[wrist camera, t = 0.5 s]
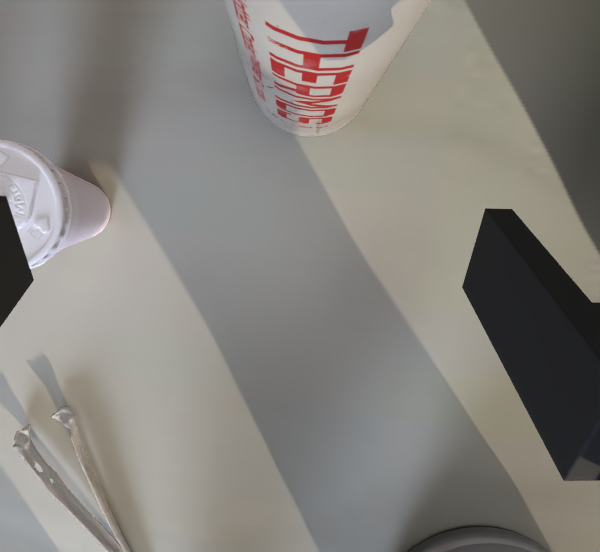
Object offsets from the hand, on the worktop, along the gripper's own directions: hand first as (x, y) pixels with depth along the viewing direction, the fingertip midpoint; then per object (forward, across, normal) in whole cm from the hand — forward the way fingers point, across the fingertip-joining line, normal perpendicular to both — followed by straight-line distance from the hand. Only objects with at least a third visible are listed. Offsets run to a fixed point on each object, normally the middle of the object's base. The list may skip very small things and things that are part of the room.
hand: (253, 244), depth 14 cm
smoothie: (+18, +12, +8) cm, 23 cm away
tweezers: (+7, +11, +28) cm, 31 cm away
